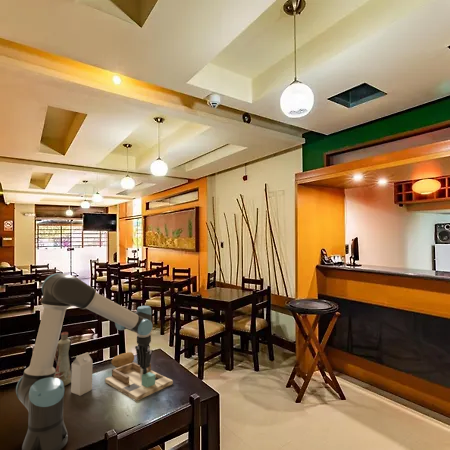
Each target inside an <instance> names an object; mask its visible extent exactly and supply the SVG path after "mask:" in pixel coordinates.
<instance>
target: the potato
mask: <svg viewBox="0 0 450 450" xmlns="http://www.w3.org/2000/svg"><path fill="white" fill-rule="evenodd" d="M134 361H135V355H134V352H131V351H129V352H124V353H120V354H118V355H115V356H113V358H112V359H111V361H110V362H111V365H112V366H114V368H115V369H116V368H118V367H121V366H124V365H127V364H130V363H132V362H134Z"/></svg>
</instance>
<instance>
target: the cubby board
mask: <svg viewBox="0 0 450 450" xmlns="http://www.w3.org/2000/svg"><path fill="white" fill-rule="evenodd" d="M148 372H151V373H153V374H155V385H152V386H150V387H148V388H147V387H145V386H143V385H142V380H140V376H141V373H140V365H138V362H134V361H133V362H132V363H130V364H127V365H124V366H121V367H118V368H116V367H115V368H113V369H111V375H110V376H108V377H106V378H105V380H104V382H105V383H106V384H107V385H108V386H111V387H113V388H114V389H115V390H117V391H119V392H120V393H122V394H124V395H126V396H127V397H128V398H131V399H132V400H134V401H135V402H138V401H140V400H142V399H143V398H146V397H148V396H151V395H152V394H155V393H156V392H159V391H160V390H163V389H165V388H167V387H170V386H171V385H173V383H174V381H173V379H171V378H169V377H166V376H164V375H162V374H160V373H159V372H156V371H154V370H152V369H151V370H150V371H149V369H148V368H147V373H148Z"/></svg>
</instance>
